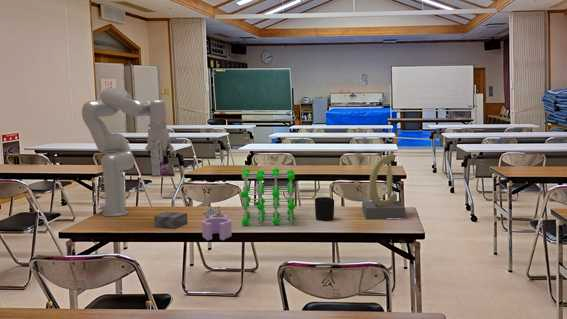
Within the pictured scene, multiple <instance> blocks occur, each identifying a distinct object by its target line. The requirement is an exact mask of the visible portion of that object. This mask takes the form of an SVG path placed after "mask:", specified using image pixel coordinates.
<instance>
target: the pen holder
mask: <svg viewBox="0 0 567 319" xmlns="http://www.w3.org/2000/svg"><path fill="white" fill-rule="evenodd" d="M314 211H315V212H314V213H315V219H316V220H317V221H320V222H328V221H333V220H334V218H335V199H334V198H332V197H330V196H320V197H315V198H314Z"/></svg>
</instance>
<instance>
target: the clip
mask: <svg viewBox="0 0 567 319" xmlns="http://www.w3.org/2000/svg"><path fill="white" fill-rule="evenodd" d="M221 215H222V217H221V218H217V215H211V216H209V218H208V219H207V218H205V219H202V221H201V225H202V226H201V227H202V228H201V229H202V230H201V231H202V232H201V234H202V238H204V239H205V240H206V241H210V240H213V235H215V234H216V235H217V234H219V240H221V241H225V240H226V239H230V237H232V234H233V232H232V219H231V218H229V215H228V214H221Z"/></svg>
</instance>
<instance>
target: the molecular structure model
mask: <svg viewBox="0 0 567 319" xmlns="http://www.w3.org/2000/svg"><path fill="white" fill-rule="evenodd" d="M295 176H296V175H295V172H294V170H292V169H290V168H289V169H288V170H283V171H282V170H281V171H280V169H279V168H278V167H274V168H273V169H272V170H271V171H264V170H263V169H259V170H258V171H251V169H249V168H247V167H246V168H244V169H243V171H242V173H241V178H242V180H243V181H244V183H243V185H244V186H243V187H242V191H241V192H240V197H241V198H243V202H242V204H241V205H242V208H243V210H244V214H243V215H242V216H243V218H242V220H241V225H242V226H245V227H246V226H248V225H249V224H260V225H262V224H268V223H270V224H273V225H274V226H279V225H280V224H281V223H282V224H284V223H289V224H291V225H292V224H293V223H294V221H295V219H296V218H295V216H294V214H295V211H294V209H296V205H295V199H294V198H293V197H292V196H293V195H294V193H295V189H294V184H293V183H292V182H293V181H294V180H295V178H296V177H295ZM248 179H252V180H253V179H256V181H258V182H259V183H258V185H257V186H250V185H249V184H248V183H249V182H248V181H249V180H248ZM264 179H273V180H274V185H272V186H271V185H269V186H268V185H267V186H266V185H265V184H264V183H263V180H264ZM278 179H287V180H288V181H289V182H288V183H287V184H286V185H278V184H277V182H278ZM264 195H265V196H269V195H270V196H271V195H272V198H264V197H263V196H264ZM281 195H289V196H288V197H286V198H285V197H283V198H282V197H280V196H281ZM250 196H259V198H251V197H250ZM251 203H253V204H251ZM254 203H256V204H254ZM265 203H272V204H265ZM280 203H287V204H280ZM269 208H270V209H272V208H273V209H274V211H273V212H266V210H264V209H269ZM279 208H280V209H282V208H288V209H287V211H286V212H284V211H283V212H279V211H278V209H279ZM249 209H257V210H258V212H251V211H249ZM286 214H287V215H286ZM267 217H268V218H267ZM280 217H283V218H280Z"/></svg>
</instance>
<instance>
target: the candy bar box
mask: <svg viewBox="0 0 567 319" xmlns="http://www.w3.org/2000/svg"><path fill="white" fill-rule="evenodd" d="M150 151H151V156H150V164H151V175H152V176H153V177H158V176H159V177H160V176H164V175H166V174H169V173H171V172H170V160H169V159H170V157H169V156H170V155H169V156H168V164H166V165H164V162H163V156H164V153H163V150H162V148H161V141H151V142H150Z"/></svg>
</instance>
